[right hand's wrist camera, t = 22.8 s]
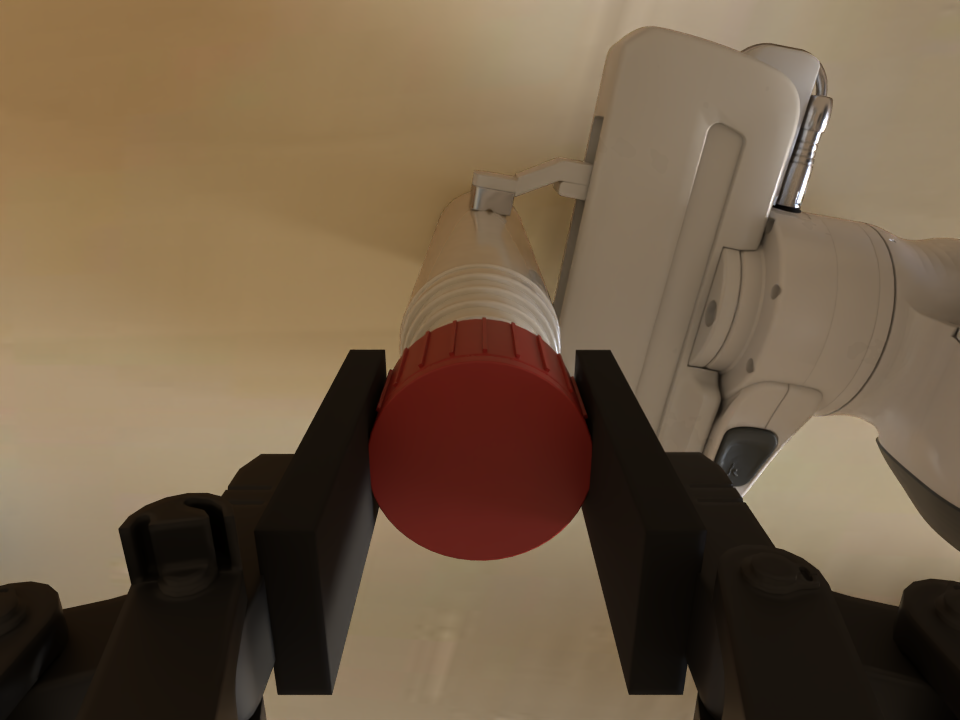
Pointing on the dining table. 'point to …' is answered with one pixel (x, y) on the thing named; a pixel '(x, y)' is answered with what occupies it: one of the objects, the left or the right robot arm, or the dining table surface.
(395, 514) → the cap
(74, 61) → the dining table surface
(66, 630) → the right robot arm
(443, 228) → the bottle
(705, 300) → the left robot arm
